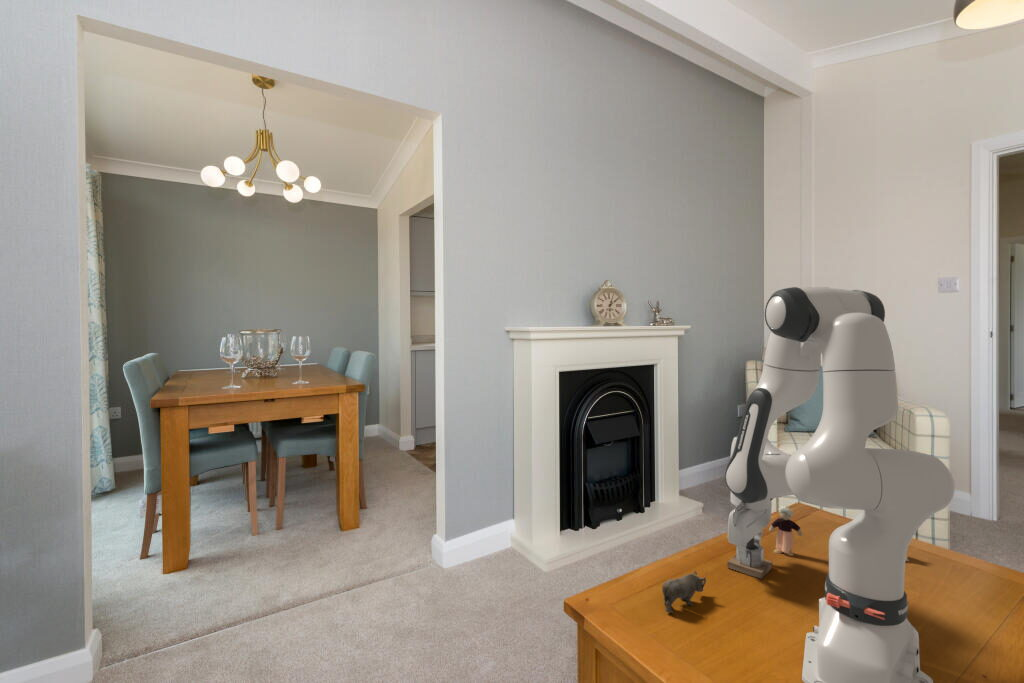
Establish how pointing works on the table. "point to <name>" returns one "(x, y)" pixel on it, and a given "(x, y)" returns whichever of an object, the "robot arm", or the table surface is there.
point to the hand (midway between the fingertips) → (749, 551)
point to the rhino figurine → (682, 589)
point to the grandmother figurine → (785, 531)
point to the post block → (751, 571)
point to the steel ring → (752, 557)
